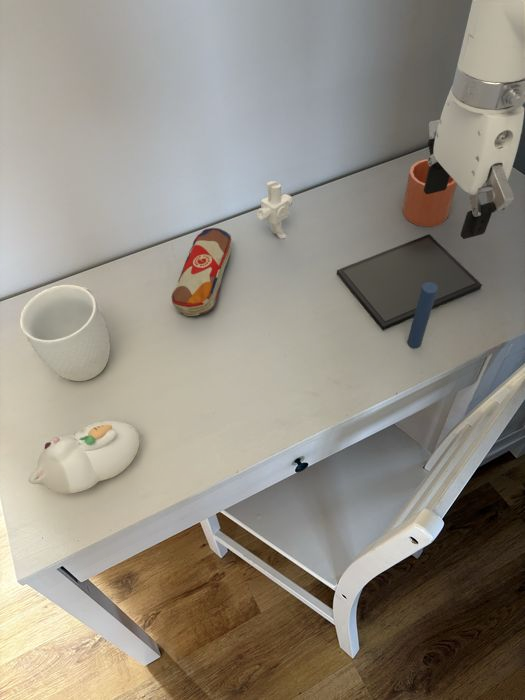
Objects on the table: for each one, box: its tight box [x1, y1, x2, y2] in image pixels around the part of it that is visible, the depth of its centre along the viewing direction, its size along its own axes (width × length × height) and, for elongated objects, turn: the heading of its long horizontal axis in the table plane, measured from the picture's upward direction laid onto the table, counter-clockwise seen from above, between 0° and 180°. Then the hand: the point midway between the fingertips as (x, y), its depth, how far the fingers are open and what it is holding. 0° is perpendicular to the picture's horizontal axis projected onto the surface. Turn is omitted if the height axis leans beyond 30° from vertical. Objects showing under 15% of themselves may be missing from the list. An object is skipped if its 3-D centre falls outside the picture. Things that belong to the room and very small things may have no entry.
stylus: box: [406, 282, 438, 349], centre depth 81 cm, size 2×2×13 cm
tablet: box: [336, 233, 483, 331], centre depth 94 cm, size 20×15×1 cm
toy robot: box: [256, 180, 293, 239], centre depth 99 cm, size 4×8×12 cm, turn 133°
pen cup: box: [402, 158, 458, 228], centre depth 102 cm, size 9×9×9 cm
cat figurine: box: [28, 420, 140, 495], centre depth 73 cm, size 10×8×15 cm
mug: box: [19, 284, 111, 382], centre depth 83 cm, size 15×11×13 cm
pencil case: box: [170, 227, 232, 317], centre depth 96 cm, size 11×20×5 cm, turn 155°
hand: (452, 212), depth 71 cm, fingers open, 9 cm apart
